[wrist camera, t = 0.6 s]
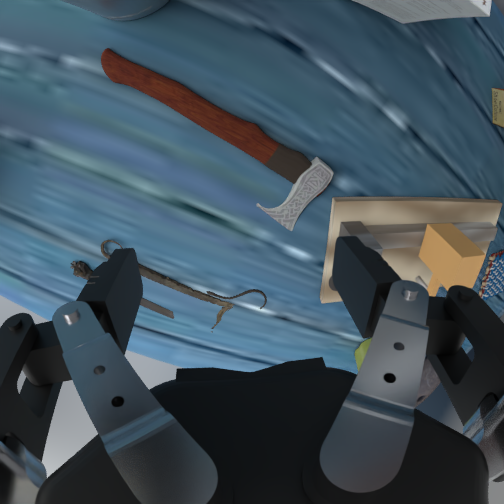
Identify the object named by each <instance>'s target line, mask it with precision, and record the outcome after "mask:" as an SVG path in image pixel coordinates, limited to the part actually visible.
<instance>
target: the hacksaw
mask: <svg viewBox="0 0 504 504" xmlns="http://www.w3.org/2000/svg"><path fill="white" fill-rule="evenodd" d="M106 242H114V243H116V244H118V245H119V246H120V247H121V245H120V244H119V243H117V242H115V241H112V240H106V241H104V242H103V243H102V244H101V252H102V254H103V255H104V256H105V257H106V258H108V259H109V258H110V257H111V256H109V255H108V254H107V253H106V252H105V251H104V244H105V243H106ZM121 248H122V247H121ZM122 249H123V248H122ZM71 265H73V266H71V268H72V269H73V268H74V273H73V274H74V275H75V276H77V277H82V278H84V279H86V280H89V278H91V275H92V273H93V271H92V270H90V269H89V268H88V266H87V265H86V264H85V263H82V262H81V261H78V263H77V264H76V262H75V261H73V264H72V263H71ZM138 266H139V271H140V275H142V276H144V277H146V278H148V279H151V280H152V281H155V282H158V283H160V284H163V285H165V286H168V287H170V288H172V289H175V290H177V291H180V292H182V293H184V294H188V295H190V296H193V297H196V298H198V299H201V300H204V301H207V302H208V301H209V302H211V303H213V304H217V305H219V306H225V307H222V308H223V309H222V310H220V311H219V313H218V314H217V322H216V325H217V324H218V323H219V321H220V320H221V317H222V315H223V314H224V312H225V311H227V310H228V309H231V308H232V306H233V305H234V304H232V303H229V302H225V301H221V300H220V299H217V298H215V297H212V296H210V295H213V296H216V297H219V298H223V299H233V298H237V297H239V296H242V295H244V294H247V293H251V292H258V293H261V294H262V295H263V296H264V298H265V304H266V301H267V299H266V296H265V294H264V293H263V292H262V291H259V290H255V289H253V290H248V291H245V292H243V293H241V294H239V295H236V296H233V297H230V298H229V297H222V296H219V295H217V294H215V293H213V292H210V291H207V293H208V294H209V295H207V294H205V293H202V292H200V291H196V290H192V289H191V288H190V287H187V286H185V285H183V284H180V283H178V282H177V281H174V280H172V279H170V278H169V277H164V276H162V275H161V274H159V273H157V272H155V271H152V270H150V269H148V268H146V267H144V266H141V265H140V264H138ZM228 303H229V304H228ZM265 304H264V305H263V306H262V307H264V306H265ZM140 305H142V306H144V307H146V308H149V309H150V310H153V311H156V312H158V313H160V314H162V315H165V316H167V317H170V318H172V319H173V318H174V316H173V312H172V311H170V310H168V309H165V308H163V307H161V306H159V305H157V304H154V303H152V302H150V301H148V300H146V299H144V298H142V299H141V302H140ZM228 307H229V308H228ZM262 307H261V308H262ZM261 308H260V309H261ZM227 312H228V311H227ZM216 325H214V327H215V326H216ZM214 327H213V328H214ZM213 328H211V329H213ZM211 332H213V331H211Z"/></svg>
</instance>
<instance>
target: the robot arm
mask: <svg viewBox="0 0 504 504" xmlns="http://www.w3.org/2000/svg"><path fill="white" fill-rule="evenodd" d="M61 1H64V2H67V3H70V4H72V5H75V6H78V7H80V8H83V9H85V10H88V11H90V12H93V13H95V14H98V15H100V16H102V17H105V18H108V19H111V20H115V21H128V20H135V19H138V18H142V17H145V16H147V15H149V14H151V13H154V12H155V11H157V10H158V9H160V8H161V7H163V6H164V5H165V4H166V3H167V2H168V1H169V0H61ZM332 279H333V284H334V286H335V288H336V290H337V291H338V293H339V295H340V297H341V299H342V300H343V302H344V304H345V306H346V308H347V309H348V311H349V313H350V315H351V317H352V319H353V320H354V322H355V324H356V326H357V328H358V330H359V332H360V333H361V335H362V337H363V338H369V337H372V340H371V342H370V345H369V348H368V350H367V353H366V355H365V358H364V360H363V362H362V365H361V367H360V370H359V372H358V374H357V375H356V374H354V373H351V372H349V371H346V370H341V369H337V368H329V367H326V366H325V363H324V360H323V358H322V357H320V358H312V359H305V360H297V361H288V362H285V363H282V364H278V365H275V366H272V367H269V368H265V369H262V370H259V371H255V372H242V371H234V370H227V369H220V368H213V367H212V368H182V369H177V372H176V379H175V380H171V381H168V382H165V383H162V384H160V385H158V386H155V387H153V388H152V389H150V390H149V389H148V388H147V387H146V385H145V384H144V383H143V382H142V380H141V379H140V377H139V376H138V375H137V373H136V372H135V370H134V369H133V368H132V366H131V365H130V363H129V362H128V361H127V359H126V358H125V356H124V355H125V352H126V348H127V345H128V341H129V338H130V334H131V331H132V328H133V325H134V321H135V318H136V315H137V312H138V309H139V305H140V302H141V299H142V295H143V285H142V280H141V275H140V271H139V266H138V261H137V257H136V252H135V250H134V249H133V248H125V249H115V250H114V252H113V253H112V255H111V257H110V258H109V260H108V261H107V262H103V263H102V264H101V265H99V266H98V267H97V268H96V269H95V270H94V272H93V273H92V275H91V278H89V280H88V281H87V284H86V285H85V286H84V288H83V290H82V292H81V293H80V295H79V297H78V298H77V300H76V301H74V302H69V303H67V304H65V305H63V306H61V307H60V308H58V309H57V310H56V312H55V313H54V315H53V317H52V321H49V322H45V323H40V324H36V325H35V323H34V321H33V319H32V317H31V315H29V314H27V313H19V314H16V315H14V316H12V317H10V318H8V319H7V320H6V321H5V322H4V323H3V325H2V326H1V328H0V504H488V485H489V482H491V481H495V482H501V481H504V323H503V322H502V321H501V320H500V319H499V317H498V316H497V315H496V314H495V313H494V312H493V310H492V309H491V308H490V307H489V306H488V305H487V304H486V303H485V301H484V300H483V299H482V298H481V297H480V296H479V295H478V294H477V293H476V292H475V291H474V290H472V289H470V288H468V287H466V286H462V285H454V286H451V287H450V288H449V289H448V292H447V295H446V297H435V296H429V293H428V291H427V290H426V288H425V287H423V286H422V285H420V284H419V283H416V282H414V281H410V280H402V279H401V278H400V277H399V275H398V274H397V273H396V272H395V271H394V270H393V269H392V267H391V266H389V264H388V263H387V262H386V261H385V260H384V258H383V257H382V256H381V255H380V254H379V253H378V252H377V251H375V250H373V249H371V248H370V247H366V246H365V245H364V244H363V243H362V242H361V241H360V239H359V238H358V237H357V236H339V237H337V239H336V243H335V252H334V260H333V268H332ZM465 337H467V339H468V340H469V341H470V343H471V344H472V346H473V348H474V352H475V356H474V360H473V362H471V360H470V359H469V357H468V356H467V354H466V353H465V351H464V350H463V348H462V347H461V346H462V344H463V342H464V340H465ZM425 354H426V356H427V358H428V360H429V361H430V363H431V365H432V367H433V368H434V370H435V372H436V374H437V376H438V377H439V379H440V381H441V383H442V385H443V386H444V388H445V390H446V392H447V394H448V396H449V398H450V400H451V402H452V404H453V406H454V408H455V409H456V412H457V414H458V416H459V418H460V419H461V422H462V424H463V426H464V428H463V434H461V433H459V432H457V431H455V430H453V429H451V428H450V427H448V426H446V425H444V424H442V423H440V422H439V421H437V420H435V419H433V418H431V417H429V416H428V415H426V414H424V413H422V412H421V411H419V410H417V409H415V408H414V407H415V403H416V399H417V395H418V390H419V385H420V381H421V376H422V371H423V365H424V360H425ZM22 370H23V372H24V374H25V375H26V379H25V381H24V384H23V386H22V389H21V392H20V394H19V393H18V389H17V381H18V378H19V375H20V373H21V371H22ZM68 380H73V382H74V385H75V387H76V389H77V391H78V393H79V396H80V398H81V400H82V402H83V404H84V406H85V408H86V411H87V412H88V414H89V417H90V419H91V420H92V422H93V424H94V426H95V428H96V430H97V432H98V435H96V436H95V437H94V438H93V439H92V440H91V441H90V442H89V443H87V444H86V445H85V446H84V447H83V448H82V449H81V450H79V451H78V452H77V453H76V454H75V455H74V456H73V457H71V458H70V459H69V460H68V461H67V462H65V463H64V464H63V465H62V466H61V467H60V468H58V470H56V471H55V472H54V473H52V474H51V475H50V476H49V477H48V478H47V475H46V469H45V467H44V465H43V463H42V457H43V453H44V448H45V444H46V439H47V436H48V432H49V428H50V424H51V420H52V416H53V413H54V409H55V406H56V402H57V399H58V396H59V392H60V389H61V386H62V383H63V381H68Z"/></svg>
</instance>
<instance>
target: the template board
mask: <svg viewBox="0 0 504 504" xmlns="http://www.w3.org/2000/svg"><path fill="white" fill-rule="evenodd" d="M501 206H502V203H501V202H499V201H498V200H488V199H467V198H439V197H332V207H331V216H330V225H329V234H328V242H327V249H326V257H325V264H324V271H323V278H322V285H321V292H320V300H321V302H322V303H330V302H339V301H343V300H342V299H341V297H340V295H339V293H338V291H337V290H336V288H335V286H334V284H333V279H332V268H333V260H334V252H335V243H336V239H337V237H339V236H357V237H358V238H359V239H360V241H361V242H362V243H363V244H364V245H365V246H366V247H370V248H371V249H373V250H375V251H377V252H378V253H379V254H380V255H381V256H382V257H383V258H384V260H385V261H386V262H387V263H388V264H389V266H391V267H392V269H393V270H394V271H395V272H396V273H397V274H398V275H399V277H400V278H401V279H402V280H410V281H414V282H416V283H417V281H416V280H415V278H416V277H417V276H420V277H421V278H422V279H423V281H424V282H425V283H426V284H427V286H428V285H429V282H430V280H431V277H432V274H433V273H432V272H431V270H430V269H429V268H428V267H427V266H426V264H425V263H424V262H423V261H422V260H421V259H420V257H419V253H420V249H421V246H422V242H423V239H424V235H425V231H426V227H427V224H439V223H452V224H453V225H454V226H455V227H456V228H458V229H459V230H460V231H461V232H462V233H463V234H464V235H465V236H467V237H468V238H469V239H470V240H471V241H472V242H473V243H474V244H475V245H476V246H477V247H478V248H479V249H481V250H482V251H483V252H484V253H485V254H486V252H487V249H488V247H489V244H490V241H493V240H494V238H495V235H496V232H497V229H498V228H497V227H496V223H497V220H498V217H499V213H500V210H501ZM442 286H443V285H442V284H441V283H440V286H439V287H442Z"/></svg>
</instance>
